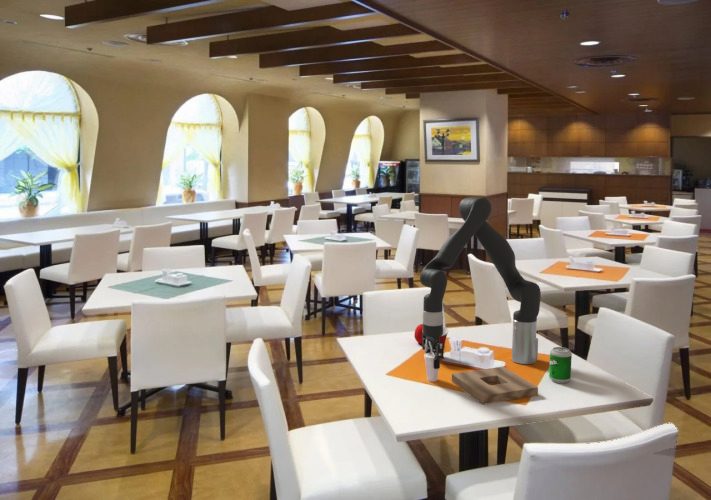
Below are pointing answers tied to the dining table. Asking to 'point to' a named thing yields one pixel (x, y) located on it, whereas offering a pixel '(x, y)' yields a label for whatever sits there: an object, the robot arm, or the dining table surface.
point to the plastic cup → (443, 336)
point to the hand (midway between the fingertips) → (432, 365)
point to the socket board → (504, 390)
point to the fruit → (419, 333)
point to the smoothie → (430, 367)
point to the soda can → (560, 365)
